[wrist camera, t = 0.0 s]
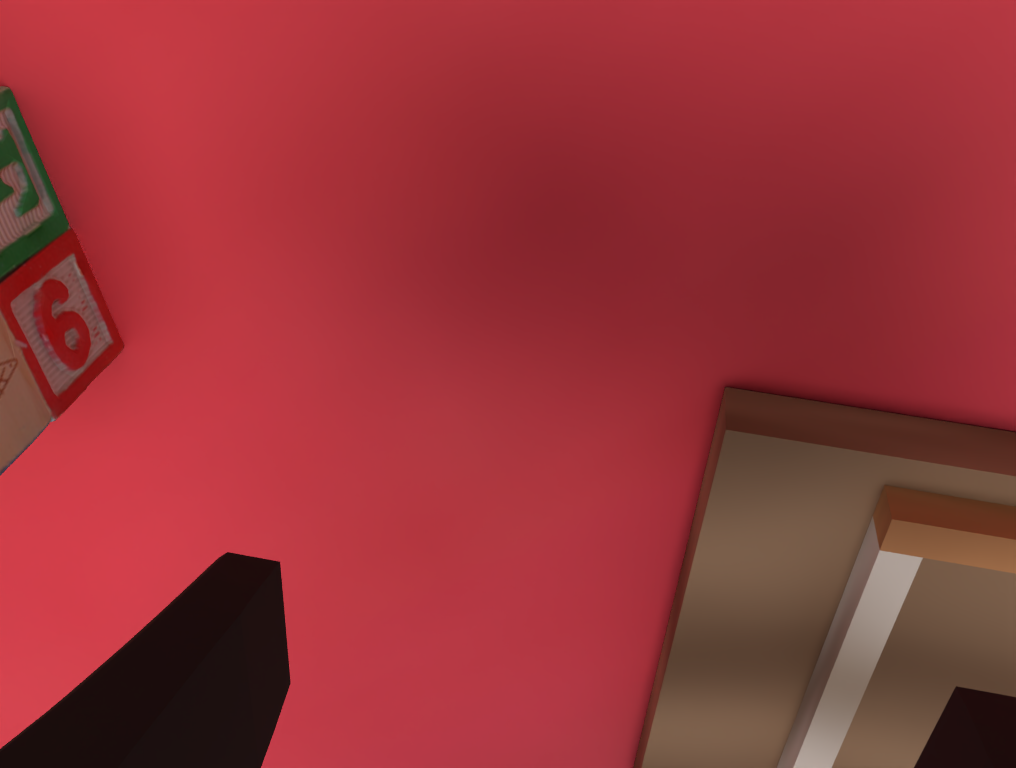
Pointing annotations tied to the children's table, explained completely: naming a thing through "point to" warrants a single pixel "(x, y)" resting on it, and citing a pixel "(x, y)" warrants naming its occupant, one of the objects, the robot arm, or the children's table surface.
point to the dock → (835, 588)
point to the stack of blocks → (41, 297)
